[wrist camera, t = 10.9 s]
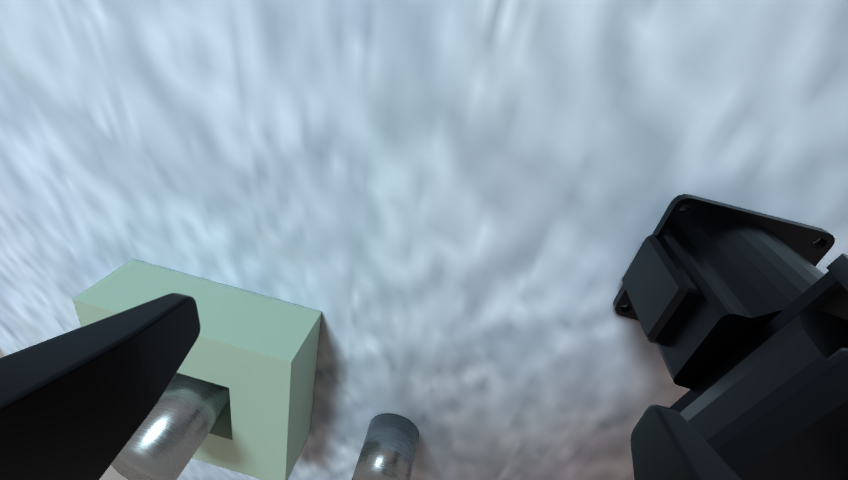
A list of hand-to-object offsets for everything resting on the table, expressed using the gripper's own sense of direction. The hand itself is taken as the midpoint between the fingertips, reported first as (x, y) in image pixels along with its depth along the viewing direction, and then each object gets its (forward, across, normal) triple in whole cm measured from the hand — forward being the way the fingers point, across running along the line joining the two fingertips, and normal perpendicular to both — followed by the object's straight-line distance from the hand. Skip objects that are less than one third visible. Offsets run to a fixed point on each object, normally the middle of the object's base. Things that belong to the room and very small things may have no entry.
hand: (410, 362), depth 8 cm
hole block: (+12, +13, +16) cm, 24 cm away
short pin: (+12, +1, +20) cm, 23 cm away
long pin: (+12, +13, +16) cm, 24 cm away
